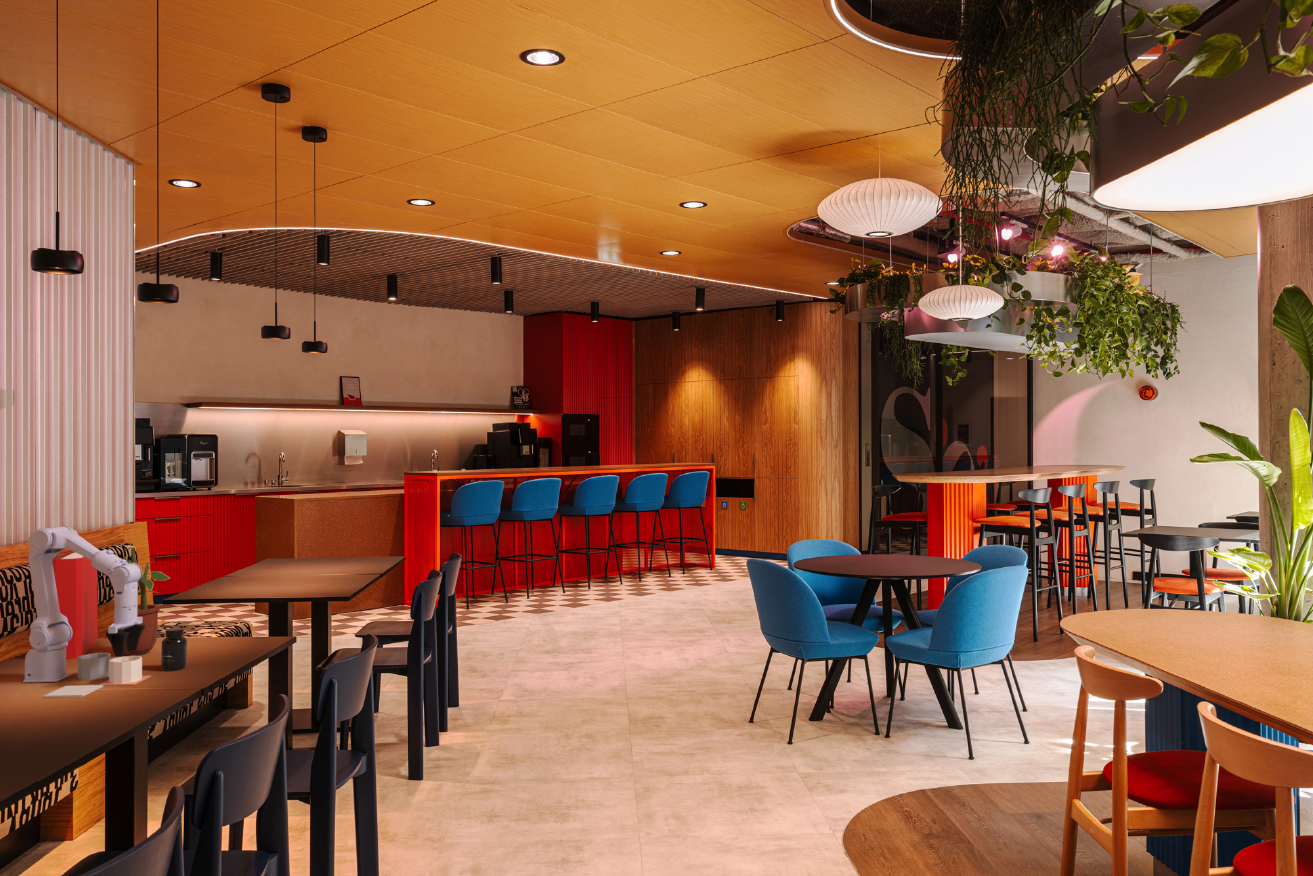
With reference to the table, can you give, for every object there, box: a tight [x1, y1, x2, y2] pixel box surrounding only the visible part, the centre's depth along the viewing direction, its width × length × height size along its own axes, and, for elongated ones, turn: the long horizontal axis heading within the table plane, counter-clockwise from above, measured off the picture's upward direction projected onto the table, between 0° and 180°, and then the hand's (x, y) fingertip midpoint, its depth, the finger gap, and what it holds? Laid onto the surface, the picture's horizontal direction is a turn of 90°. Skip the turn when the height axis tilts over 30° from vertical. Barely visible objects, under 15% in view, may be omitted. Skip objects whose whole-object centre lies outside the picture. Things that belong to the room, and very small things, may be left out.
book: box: [52, 550, 98, 660], centre depth 292 cm, size 27×8×32 cm, turn 23°
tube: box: [99, 655, 152, 687], centre depth 252 cm, size 10×10×6 cm
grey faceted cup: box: [77, 652, 111, 681], centre depth 258 cm, size 8×8×6 cm
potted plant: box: [111, 546, 171, 656], centre depth 290 cm, size 17×16×35 cm
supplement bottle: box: [160, 627, 188, 672], centre depth 267 cm, size 7×7×12 cm
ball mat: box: [43, 684, 104, 699], centre depth 241 cm, size 10×10×1 cm
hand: (125, 653), depth 253 cm, fingers open, 6 cm apart
